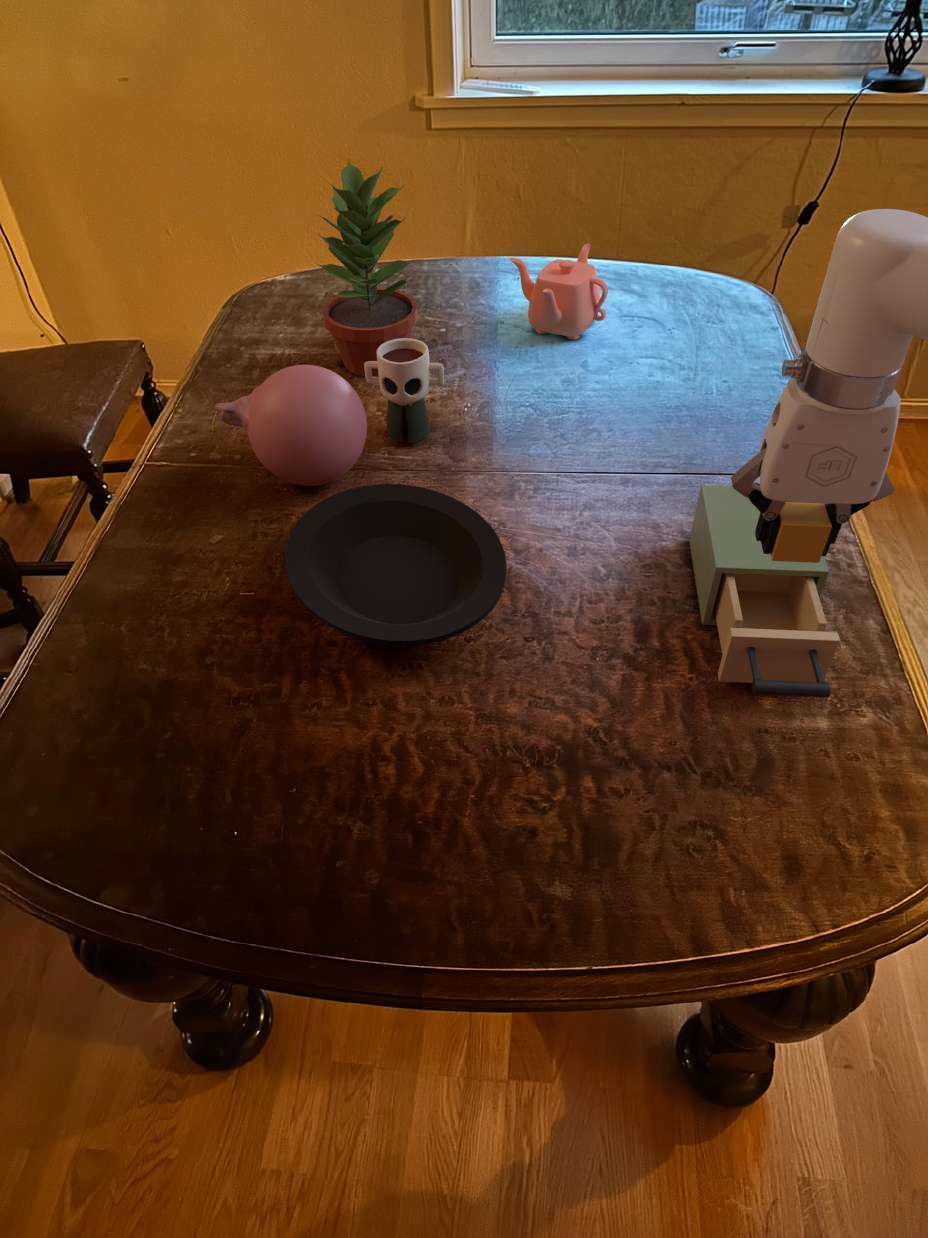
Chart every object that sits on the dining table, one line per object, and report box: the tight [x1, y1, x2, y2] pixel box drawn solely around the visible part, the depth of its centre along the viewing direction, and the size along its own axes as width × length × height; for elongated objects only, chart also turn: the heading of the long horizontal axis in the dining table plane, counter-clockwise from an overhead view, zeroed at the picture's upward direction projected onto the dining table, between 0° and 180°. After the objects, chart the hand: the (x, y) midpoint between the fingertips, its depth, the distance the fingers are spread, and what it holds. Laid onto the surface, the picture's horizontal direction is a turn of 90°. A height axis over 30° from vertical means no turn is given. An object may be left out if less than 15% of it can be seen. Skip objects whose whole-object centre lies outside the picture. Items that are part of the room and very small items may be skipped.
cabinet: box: [689, 484, 830, 626], centre depth 100 cm, size 15×12×9 cm
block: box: [770, 502, 832, 563], centre depth 84 cm, size 4×4×4 cm
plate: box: [284, 483, 508, 647], centre depth 102 cm, size 28×24×6 cm
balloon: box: [214, 364, 368, 487], centre depth 115 cm, size 15×20×15 cm
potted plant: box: [316, 158, 419, 377], centre depth 131 cm, size 15×15×30 cm
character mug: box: [364, 338, 445, 443], centre depth 122 cm, size 11×7×13 cm, turn 85°
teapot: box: [509, 242, 609, 340], centre depth 145 cm, size 14×14×11 cm
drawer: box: [714, 573, 841, 698], centre depth 92 cm, size 19×10×7 cm, turn 175°
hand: (792, 544), depth 85 cm, fingers closed on block, 4 cm apart
